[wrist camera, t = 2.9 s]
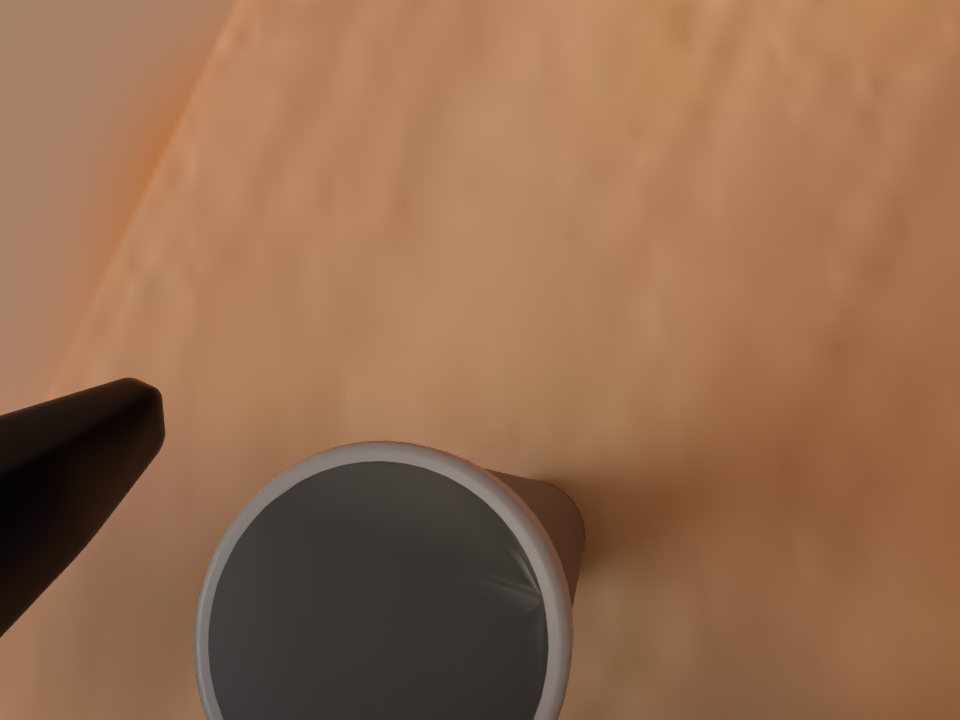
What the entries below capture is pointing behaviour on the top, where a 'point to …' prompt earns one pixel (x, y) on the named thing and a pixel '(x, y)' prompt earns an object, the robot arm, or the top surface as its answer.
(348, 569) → the gray cylinder
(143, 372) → the top surface
